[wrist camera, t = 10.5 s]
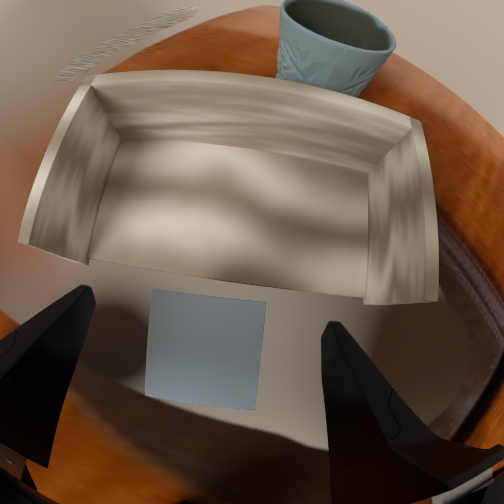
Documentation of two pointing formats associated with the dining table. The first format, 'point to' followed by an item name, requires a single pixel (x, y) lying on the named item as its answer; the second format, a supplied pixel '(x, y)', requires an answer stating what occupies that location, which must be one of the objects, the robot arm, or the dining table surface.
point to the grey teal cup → (331, 45)
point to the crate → (240, 185)
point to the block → (204, 349)
